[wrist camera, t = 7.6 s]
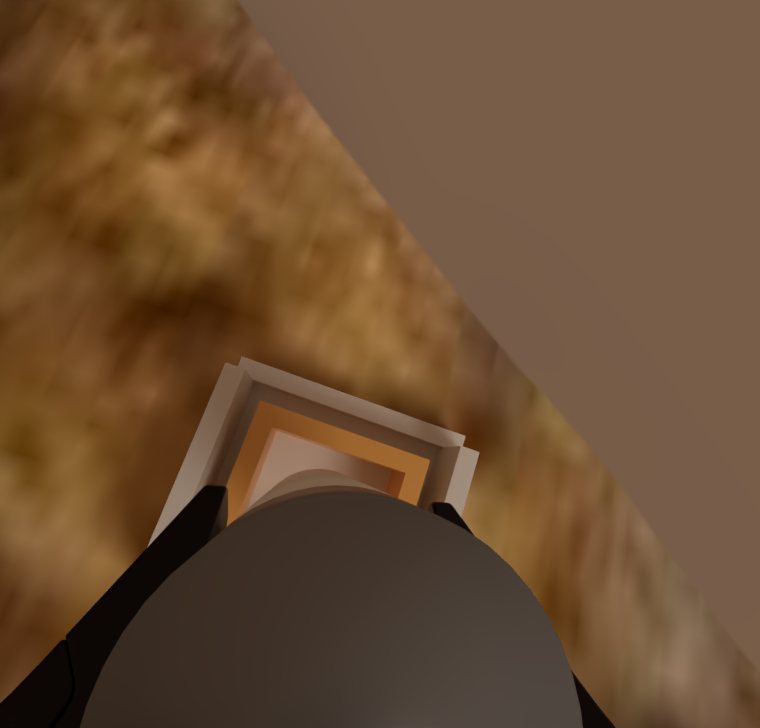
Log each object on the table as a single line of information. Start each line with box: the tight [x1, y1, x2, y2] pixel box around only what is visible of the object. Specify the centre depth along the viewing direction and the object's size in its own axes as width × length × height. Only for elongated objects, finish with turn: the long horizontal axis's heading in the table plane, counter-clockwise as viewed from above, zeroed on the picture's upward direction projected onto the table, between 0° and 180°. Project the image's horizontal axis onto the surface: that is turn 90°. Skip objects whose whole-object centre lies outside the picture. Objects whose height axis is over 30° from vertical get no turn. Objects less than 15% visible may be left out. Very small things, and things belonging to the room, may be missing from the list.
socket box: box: [148, 356, 479, 546], centre depth 20 cm, size 11×11×4 cm
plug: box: [80, 469, 583, 728], centre depth 10 cm, size 4×4×12 cm
